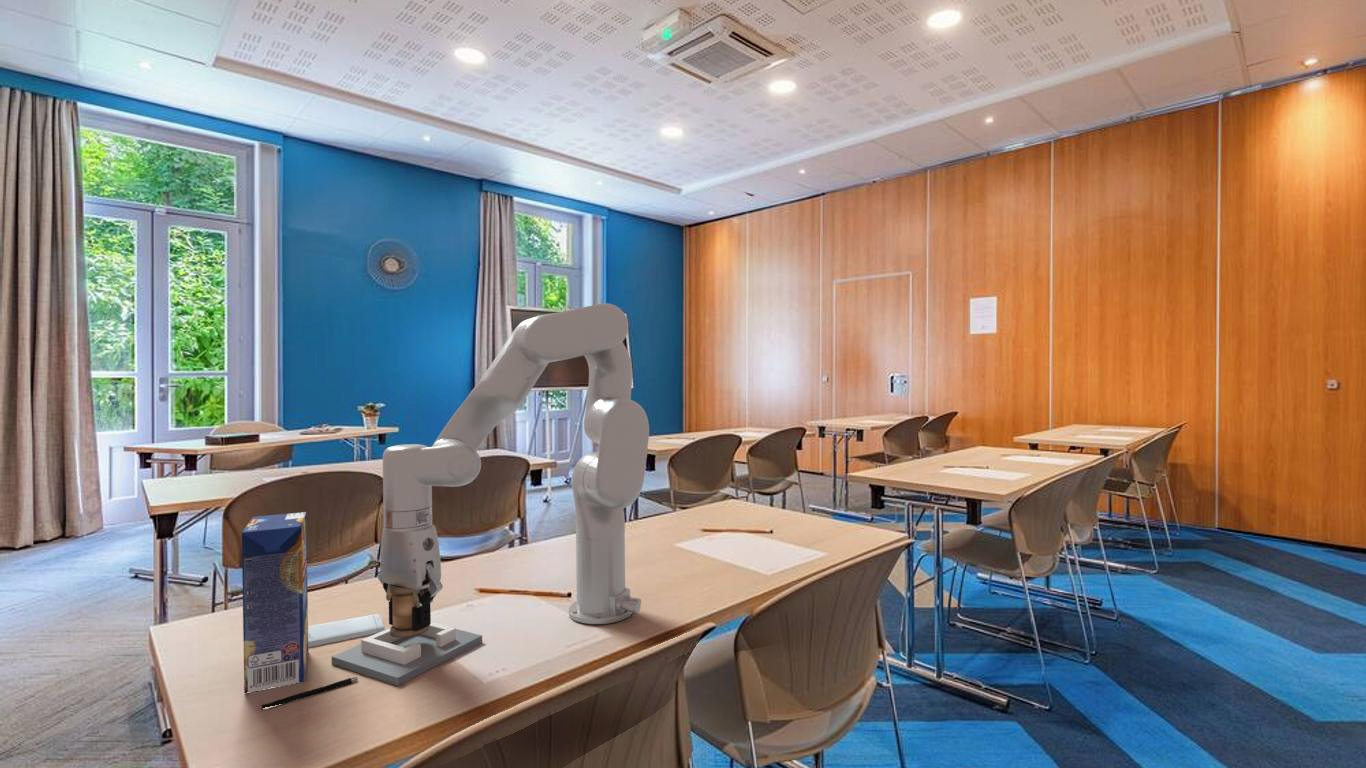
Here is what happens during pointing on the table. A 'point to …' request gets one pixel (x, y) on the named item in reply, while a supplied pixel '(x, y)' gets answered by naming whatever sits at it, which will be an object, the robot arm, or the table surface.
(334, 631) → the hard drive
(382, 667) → the notched board
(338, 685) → the black pencil
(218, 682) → the table surface
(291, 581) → the juice carton
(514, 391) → the robot arm
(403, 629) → the bobbin
